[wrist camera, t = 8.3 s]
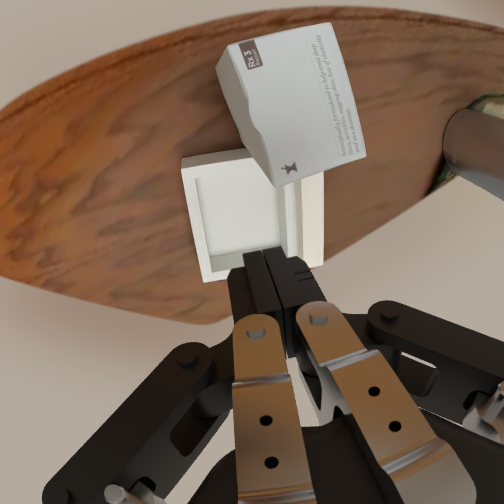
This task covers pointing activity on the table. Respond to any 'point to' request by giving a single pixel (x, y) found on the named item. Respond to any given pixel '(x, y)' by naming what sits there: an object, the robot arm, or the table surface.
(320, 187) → the wall
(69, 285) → the table surface
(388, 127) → the table surface
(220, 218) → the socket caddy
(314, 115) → the skincare box
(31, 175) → the table surface
